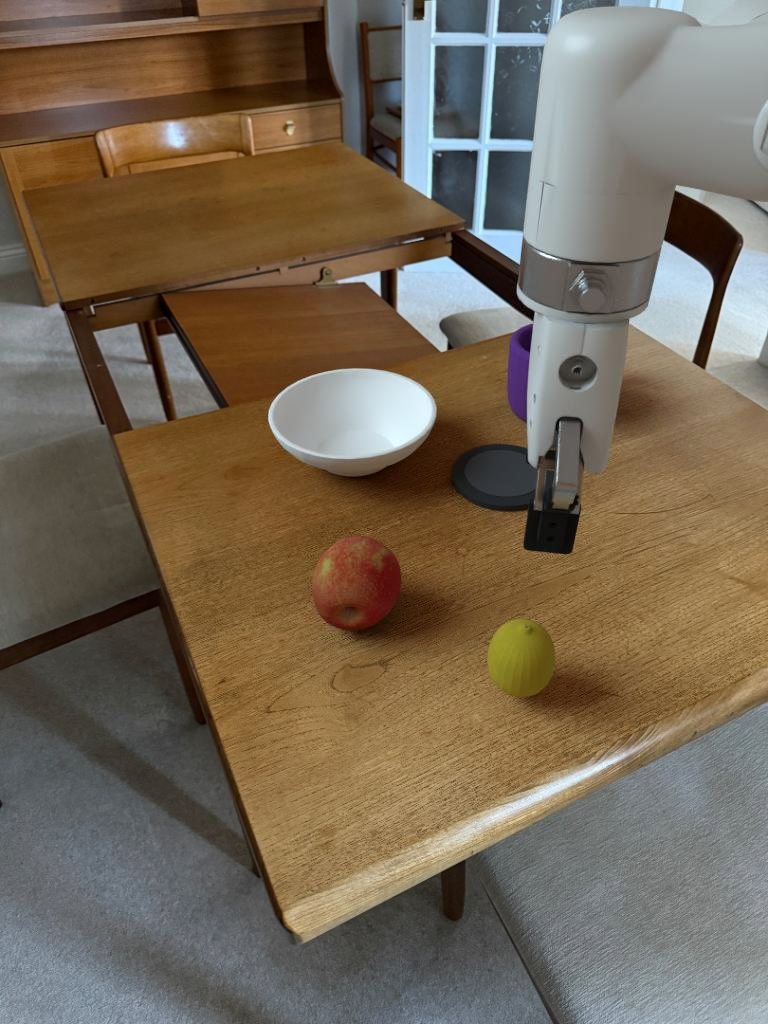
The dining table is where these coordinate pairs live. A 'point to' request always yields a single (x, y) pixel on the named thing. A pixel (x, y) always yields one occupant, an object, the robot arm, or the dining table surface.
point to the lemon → (521, 658)
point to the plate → (497, 477)
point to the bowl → (352, 419)
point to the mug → (519, 370)
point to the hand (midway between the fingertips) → (546, 503)
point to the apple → (356, 583)
